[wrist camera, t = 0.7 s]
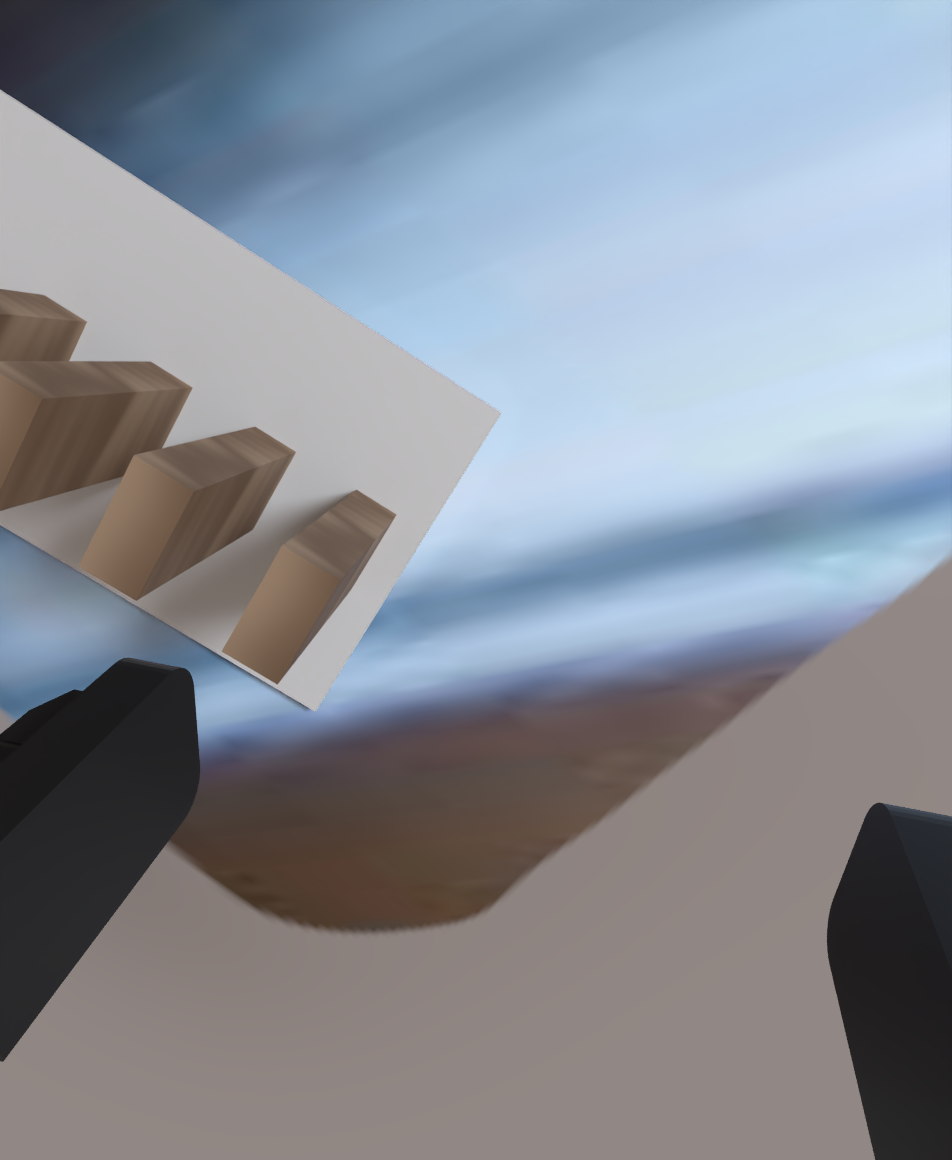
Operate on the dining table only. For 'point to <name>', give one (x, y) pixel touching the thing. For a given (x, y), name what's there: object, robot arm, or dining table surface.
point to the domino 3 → (184, 507)
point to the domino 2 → (79, 423)
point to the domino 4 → (307, 585)
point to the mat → (228, 384)
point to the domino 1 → (36, 328)
